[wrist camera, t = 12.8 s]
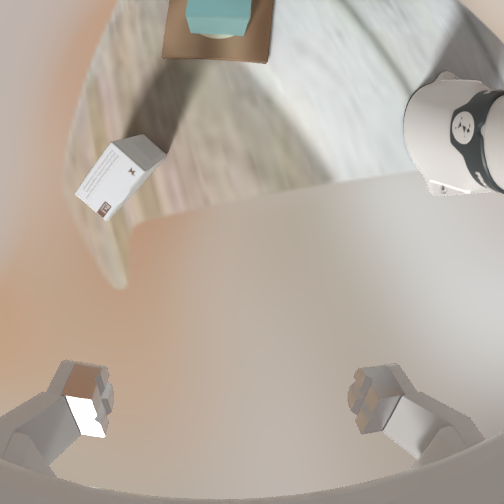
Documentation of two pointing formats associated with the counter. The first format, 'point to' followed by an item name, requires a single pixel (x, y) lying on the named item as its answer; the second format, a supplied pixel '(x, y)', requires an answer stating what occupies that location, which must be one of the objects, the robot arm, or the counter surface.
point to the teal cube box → (218, 16)
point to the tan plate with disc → (218, 37)
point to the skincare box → (119, 174)
